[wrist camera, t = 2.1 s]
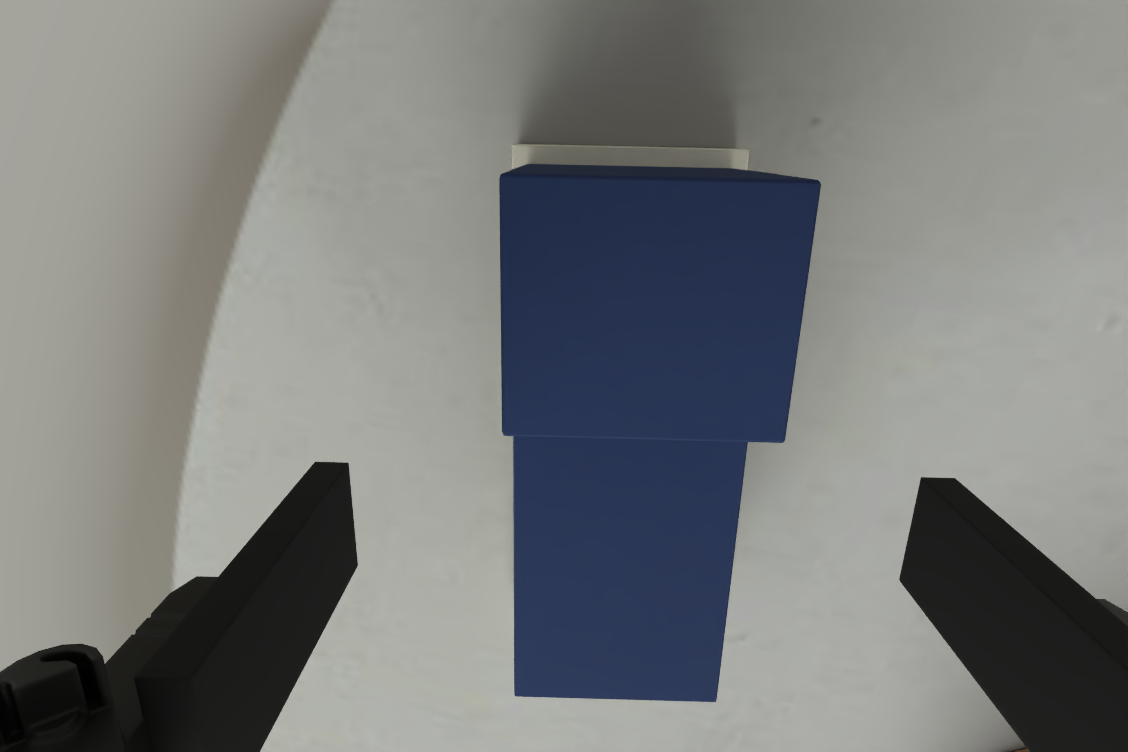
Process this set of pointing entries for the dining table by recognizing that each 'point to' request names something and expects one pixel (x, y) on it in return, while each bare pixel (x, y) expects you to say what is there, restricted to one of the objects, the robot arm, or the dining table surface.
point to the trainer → (639, 401)
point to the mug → (1024, 751)
